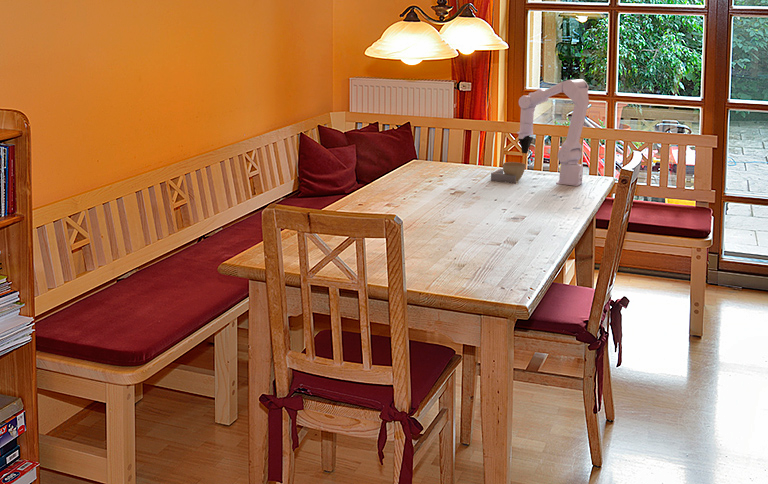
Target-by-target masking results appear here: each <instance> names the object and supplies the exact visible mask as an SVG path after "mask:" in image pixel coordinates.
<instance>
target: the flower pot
mask: <svg viewBox="0 0 768 484" xmlns="http://www.w3.org/2000/svg"><path fill="white" fill-rule="evenodd" d="M502 169H503V174H509V175H516V182H518V181H519V182H520V180H521V179H522V177H523V176H524V172H525V169H526V163H523V162H517V161H516V162H515V161H508V162H507V161H506V162H503V163H502Z"/></svg>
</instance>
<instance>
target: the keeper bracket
mask: <svg viewBox="0 0 768 484" xmlns="http://www.w3.org/2000/svg"><path fill="white" fill-rule="evenodd" d="M490 182H496V183H504V184H516V183H517V181H516V175H509V174H504V171H503V168H499V169H497V170H495V171H492V172H491V173H490Z"/></svg>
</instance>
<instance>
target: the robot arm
mask: <svg viewBox="0 0 768 484" xmlns="http://www.w3.org/2000/svg"><path fill="white" fill-rule="evenodd" d="M589 88H590V87H589V84H588V83H587V81H586V80H584V79H582V78H578V79H567V80H563V81H561V82H559V83H557V84H555V85H553V86H551V87H549V88H547V89H544V88H537V89H536V91H534V92H529V93H528V95H522V96H521V97H519V99H518V106H519V107H520V119H519V121H520V122H519V131H517V132H516V134H517V135H518V136H517V137H518V141H519V144H520V149H521V153H522V154H528V153H529V149H530V145H531V143H532V141H533V139H534V137H533V136H534V116H535V115H534V114H535V110H536V107H537V106H538V105H541V104H543V103H545V102H547V101H548V100H549V98H551V97H552V96H555V95H558V94H560V93H561V94H562V93H563V94H564V95H566V97H567V98H569V99H570V100H571V101H572V102H573V104H574V106H573V108H572V109H573V110H572V114H571V119H570V122H569V127H568V131H567V136H566V139H565V140H564V142H563V143H562V144H561V147H560V149H559V150H558V151H557V159H558V161H559V164H560V166H559V178H558V179H559V180H558V181H556V182H555V183H556V184H557V185H567V186H575V187H578V186H580V185H581V184H583V173H584V165H583V164H580V163H579V161H580V159H581V158H582V155H583V153H582V148H583V145H582V144H581V143H580V140H581V136H582V132H583V127H584V124H585V119H586V117H587V116H586V115H587V112H588V107H589V103H590V100H589V98H590V97H589V92H588V91H589Z"/></svg>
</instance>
